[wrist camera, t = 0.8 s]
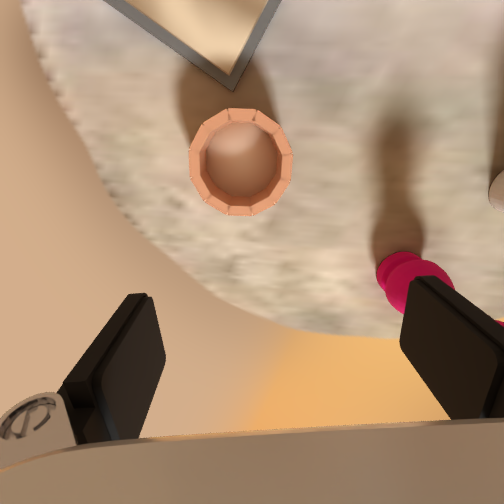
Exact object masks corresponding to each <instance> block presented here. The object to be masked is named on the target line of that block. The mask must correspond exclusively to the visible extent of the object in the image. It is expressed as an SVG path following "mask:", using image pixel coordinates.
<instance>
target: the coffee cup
mask: <svg viewBox="0 0 504 504" xmlns="http://www.w3.org/2000/svg"><path fill="white" fill-rule="evenodd" d="M489 201H490V203H491V205H492V206H493V207H494V208H495V209H496V210H498V211H501V212H503V213H504V170H503V171H502V172H501V173H500V174H499V175H498V176H497V177H496V178H495V179H494V181H493V182H492V185H491V187H490V190H489Z"/></svg>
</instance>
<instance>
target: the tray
mask: <svg viewBox="0 0 504 504" xmlns="http://www.w3.org/2000/svg"><path fill="white" fill-rule="evenodd" d="M104 1H105V2H107V3H108V4H109V5H111V6H112V7H114V8H115V9H116V10H118V11H119V12H121V13H122V14H124V15H125V16H126V17H128V18H129V19H131V20H132V21H133V22H135V23H136V24H138V25H139V26H140V27H142V28H143V29H145V30H146V31H148V32H149V33H150V34H152V35H153V36H155V37H156V38H157V39H159V40H160V41H162V42H163V43H164V44H166V45H167V46H169V47H170V48H172V49H173V50H174V51H176V52H177V53H179V54H180V55H181V56H183V57H184V58H186V59H187V60H188V61H190V62H191V63H193V64H194V65H196V66H197V67H198V68H200V69H201V70H203V71H204V72H205V73H207V74H208V75H210V76H211V77H212V78H214V79H215V80H217V81H218V82H220V83H221V84H222V85H224V86H225V87H227V88H228V89H229V90H231V91H232V92H233V91H234V89H235V87H236V85H237V83H238V81H239V79H240V77H241V76H242V74H243V72H244V70H245V68H246V66H247V64H248V62H249V61H250V59H251V57H252V55H253V53H254V51H255V49H256V47H257V45H258V44H259V42H260V40H261V38H262V36H263V34H264V32H265V30H266V28H267V27H268V25H269V23H270V21H271V19H272V17H273V15H274V13H275V12H276V10H277V8H278V6H279V4H280V2H281V0H268V2H267V4H266V6H265V8H264V10H263V12H262V13H261V15H260V17H259V19H258V21H257V23H256V25H255V27H254V29H253V31H252V33H251V35H250V37H249V39H248V41H247V42H246V44H245V46H244V48H243V50H242V52H241V54H240V56H239V58H238V60H237V62H236V64H235V66H234V68H233V70H232V71H231V73H230V75H227V74H226V73H224V72H223V71H222V70H220V69H219V68H217V67H216V66H215V65H213V64H212V63H211V62H209V61H208V60H206V59H205V58H204V57H202V56H201V55H199V54H198V53H197V52H195V51H194V50H192V49H191V48H190V47H188V46H187V45H186V44H184V43H183V42H181V41H180V40H179V39H177V38H176V37H174V36H173V35H172V34H170V33H169V32H167V31H166V30H165V29H163V28H162V27H161V26H159V25H158V24H156V23H155V22H154V21H152V20H151V19H149V18H148V17H147V16H145V15H144V14H142V13H141V12H140V11H138V10H137V9H136V8H134V7H133V6H131V5H130V4H129V3H127V2H126V1H124V0H104Z"/></svg>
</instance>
